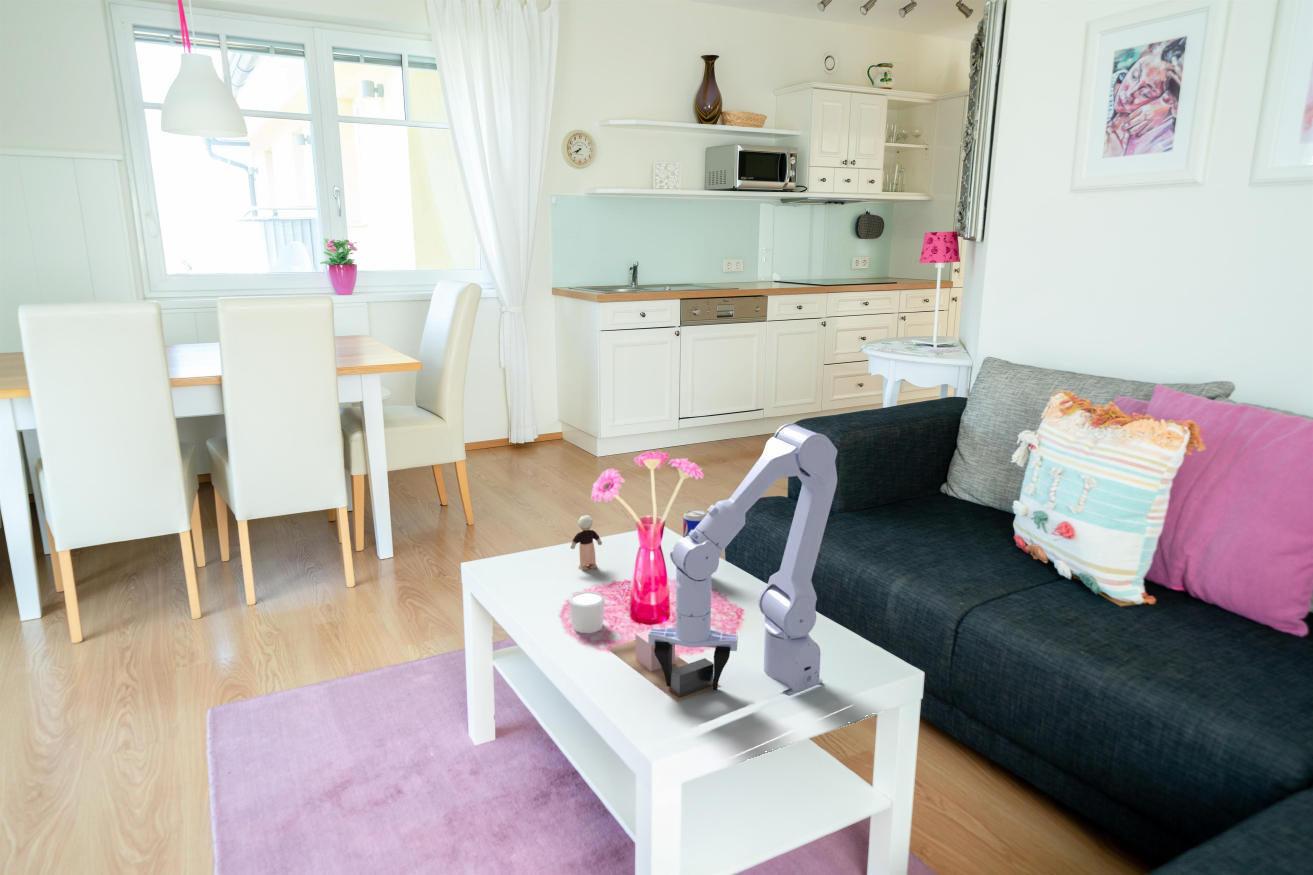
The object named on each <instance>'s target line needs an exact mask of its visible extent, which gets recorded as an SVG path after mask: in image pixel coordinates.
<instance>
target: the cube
mask: <svg viewBox="0 0 1313 875" xmlns="http://www.w3.org/2000/svg"><path fill="white" fill-rule="evenodd" d="M653 629H662V628H661V627H659V626H658V627H654V628H653ZM649 631H650V629H647V630H645V631H641V632H638V633H635V640H636V660H637V661H638V662H639V663H641V664H642V665H643V666H645V667H646V668H647V669H649V670H650V671H651V672H652V671H655V670H658V669H661V668H662V667H661V665H660V663H659V661H658V659H657V658H656V656H655V653H654V649H655V645H649V644H648V634H649ZM675 655H676V645H674V644H673V645H672V664H675Z"/></svg>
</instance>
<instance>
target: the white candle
mask: <svg viewBox="0 0 1313 875" xmlns="http://www.w3.org/2000/svg"><path fill="white" fill-rule="evenodd" d="M605 601H606V598H605V597H604V595H603V594H601V593H598V592H594V591H584V592H577V593H575V594H573V595H572V596H570V597H569V599H568V603H569V610H570V611H569V612H570V620H571V626H572V630H574V631H575V632H577V633H580V634H592V633H596V632H599V631H600V630H602V629H603V626H604V614H605V603H606V602H605Z"/></svg>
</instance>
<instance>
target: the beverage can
mask: <svg viewBox="0 0 1313 875" xmlns="http://www.w3.org/2000/svg"><path fill="white" fill-rule="evenodd" d="M706 515H707V513H706V512H705V511H703V510H699V509H689V510H686V511H685V512H684V514H683V518H682V519H683V521H682V525H683V528H682V529H683V530H682V538H683V537H685V536H689V532H690V531H691V530H694V529H695V528H696V526H697V525H698V524H699V523H700V522H701V521H702V519H703V518H704V517H705V516H706Z"/></svg>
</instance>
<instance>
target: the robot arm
mask: <svg viewBox="0 0 1313 875" xmlns="http://www.w3.org/2000/svg"><path fill="white" fill-rule="evenodd" d="M837 455H838V449H837V448H836V446H835V445H834V444H833V442H832V441H831V440H830V439H829V437H828V436H826V435H825V434H822V433H817V432H815V431H812V430H809V429H806V428H805V427H801V425H798V424H796V423H792V422H791V423H786V424H783V425H781V426H779V428H778V429H777V430H776V431H775V433H774V435H773V436H771V437H770V438H769V439H768V440H767V441H766V443H765V447H764V450H763V452H762V454H761V455H760V457H759V459H758V460H757V461H756V462H755V464H754V465H753V466H752V468H751V469H750V471H749V472H748V473H747V474H746V476H745V477H744V479H743V480H742V481H741V482H740V484H739V485H738V487H737V488H736V489H735V490H734V492H733V493H732V495H730V497H729V498H728V499H723V500H718V501H716V503H715V504H714V505H713V504H711V505H710V506H709V507H708V508H707V509H706V511H707V513H706V516H705V517H704V518H703V519H702V521H701V522H700V523H699V524H698V525H697V526H696V528H695V529H694V530H691V531H690V532H689V536H685V537H683V536H682V537H681V538H679V539H678V540H677V541H676V543H675V544H674V546H673V548H672V549H673V551H671V552H669V557H670V560H671V563H672V564H673V565H675V567H676V569H675V570H676V572H675V578H676V579H675V627H665V628H661V629H654V628H650V629H649V630H650V631H649V634H648V644H649V645H655V649H654V653H655V656H656V658H657V659H658V661H659V663H660V665H661V667H662V669H663V672H664V675H665V679H666V685H667V686H669V687H671V670H672V645H673V644H674V645H675V646H683V647H687V648H713V649H714V653H713V664H714V676H713V689H712V691H718V688H719V687H718V684H719V681H720V677H721V675H722V672H723V670H724V668H725V666H726V664H727V663H728V660H729V658H730V655H731V652H737V651H738V640H739V639H738V637H739V636H738V634H731V633H726V632H723V631H717V630H713V629H711V625H712V624H711V622H712V617H711V616H712V575H713V574H714V573H716V572H717V570H718V568H719V565H720V564H719V563H720V558H721V556H722V554H723V551H724V550H726V548H727V546H728V545H729V544H730V543H731V542H732V540H733V539H734V538H735V537H736V536H737V535H738V533H739V532H740V531H741V530H742V529H743V528H744V526H745V525H746V513H747V512H748V510H749V509H751V507H753V506H754V505H755V503H757V502H758V500H759V499H761V497H762V496H763V495H765V493H766V492H767V491H768V490H769V489H770V488H771V487H772V486H773V485H774V483H776V482H777V480H779V479H780V478H788V477H791V478H792V477H797V478H798V479H799V480H800V483H801V487H800V488H801V489H800V492H799V496H798V500H797V502H796V507H795V510H794V515H793V518H792V523H791V526H790V530H789V534H788V537H787V541H786V545H785V548H784V552H783V556H782V559H781V565H780V567H779V570H778V571H777V572H775V573H773V574H772V575H770V576H769V579H768V581H767V585H766V586H765V588H764V589H763V590H762V592H761V593H760V596H759V598H758V607H759V611H760V612H761V614H763V616H764V649H763V650H764V651H763V672H764V674H765V675H766V676H768V677H770V678H771V679H773V680H777V681H779V682H781V683H783V684H785V685H786V686H789V687H790V688H788V689H785V690H783V691H782V693H784V694H786V695H787V696H793V695H795V694H798V693H801V692H803V691H805V690H808V689H810V688H813V687H814V686H817V685H819V684H820V685H821V684H822V683H823V679H822V678H821V677H820V672H821V671H820V670H821V669H820V668H821V649H820V648H821V647H820V645H819V644H818V643H817V642H816V641H814V639H813V638H812V637H811V636H810V634H809V633H810V632H811V631H812V630H813V629H814V627H815V624H816V621H817V612H816V604H817V600H818V597H817V593H816V591H815V587H814V585H813V582H812V577H813V574H814V570H815V567H816V563H817V559H818V556H819V552H820V548H821V545H822V542H823V536H824V533H825V529H826V525H827V522H828V520H829V519H828V517H829V515H830V511H831V507H832V504H833V503H832V502H833V500H834V497H835V496H834V495H835V492H836V489H837V485H838V473H837V466H836V459H837ZM749 511H750V510H749Z"/></svg>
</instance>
